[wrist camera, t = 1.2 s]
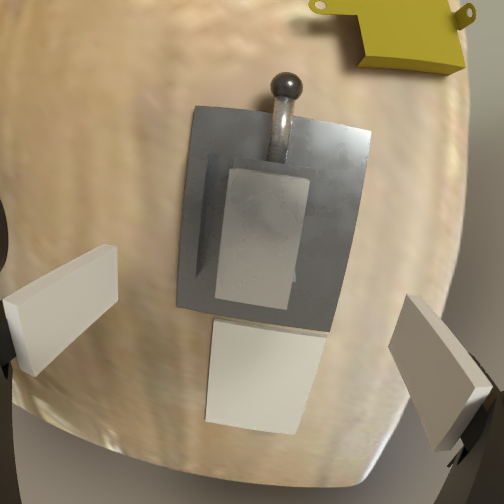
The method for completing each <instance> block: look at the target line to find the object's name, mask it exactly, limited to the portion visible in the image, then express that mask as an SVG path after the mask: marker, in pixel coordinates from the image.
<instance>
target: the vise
mask: <svg viewBox="0 0 504 504" xmlns="http://www.w3.org/2000/svg"><path fill="white" fill-rule="evenodd" d="M302 91H303V84H302V81H301V80H300V78H299V77H298V76H297V75H295V74H293V73H290V72H282V73H279V74H278V75H276V76H275V77H274V78H273V80H272V82H271V92H272V94H273V96H274V97H275V102H274V109H273V113H269V112H261V111H253V110H244V109H234V108H222V107H209V106H195V111H194V118H193V125H192V133H191V140H190V148H189V156H188V164H187V173H186V182H185V192H184V202H183V213H182V225H181V237H180V251H179V267H178V285H177V307H180V308H185V309H190V310H195V311H200V312H205V313H211V314H216V315H221V316H227V317H233V318H238V319H244V320H250V321H256V322H262V323H269V324H275V325H282V326H289V327H296V328H303V329H310V330H317V331H325V332H330V329H331V325H332V322H333V318H334V314H335V311H336V307H337V303H338V299H339V295H340V291H341V287H342V283H343V279H344V275H345V271H346V267H347V263H348V258H349V254H350V249H351V245H352V240H353V235H354V231H355V226H356V221H357V216H358V211H359V205H360V200H361V195H362V189H363V183H364V177H365V171H366V165H367V159H368V152H369V145H370V138H371V131H367V130H363V129H359V128H354V127H350V126H345V125H340V124H335V123H330V122H325V121H320V120H314V119H308V118H303V117H296V116H293V111H294V104H295V100H297V99H298V98H299V97H300V95H301V94H302ZM234 168H240V169H247V170H255V171H262V172H269V173H275V174H282V175H288V176H294V177H300V178H306V179H308V180H309V181H310V185H309V191H308V197H307V203H306V209H305V215H304V221H303V226H302V232H301V238H300V243H299V249H298V254H297V259H296V265H295V270H294V275H293V280H292V286H291V291H290V296H289V301H288V306H287V310H284V309H277V308H271V307H265V306H258V305H252V304H246V303H240V302H235V301H229V300H223V299H217V298H215V291H216V281H217V272H218V262H219V253H220V244H221V235H222V227H223V218H224V210H225V202H226V193H227V186H228V178H229V170H230V169H234Z"/></svg>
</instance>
